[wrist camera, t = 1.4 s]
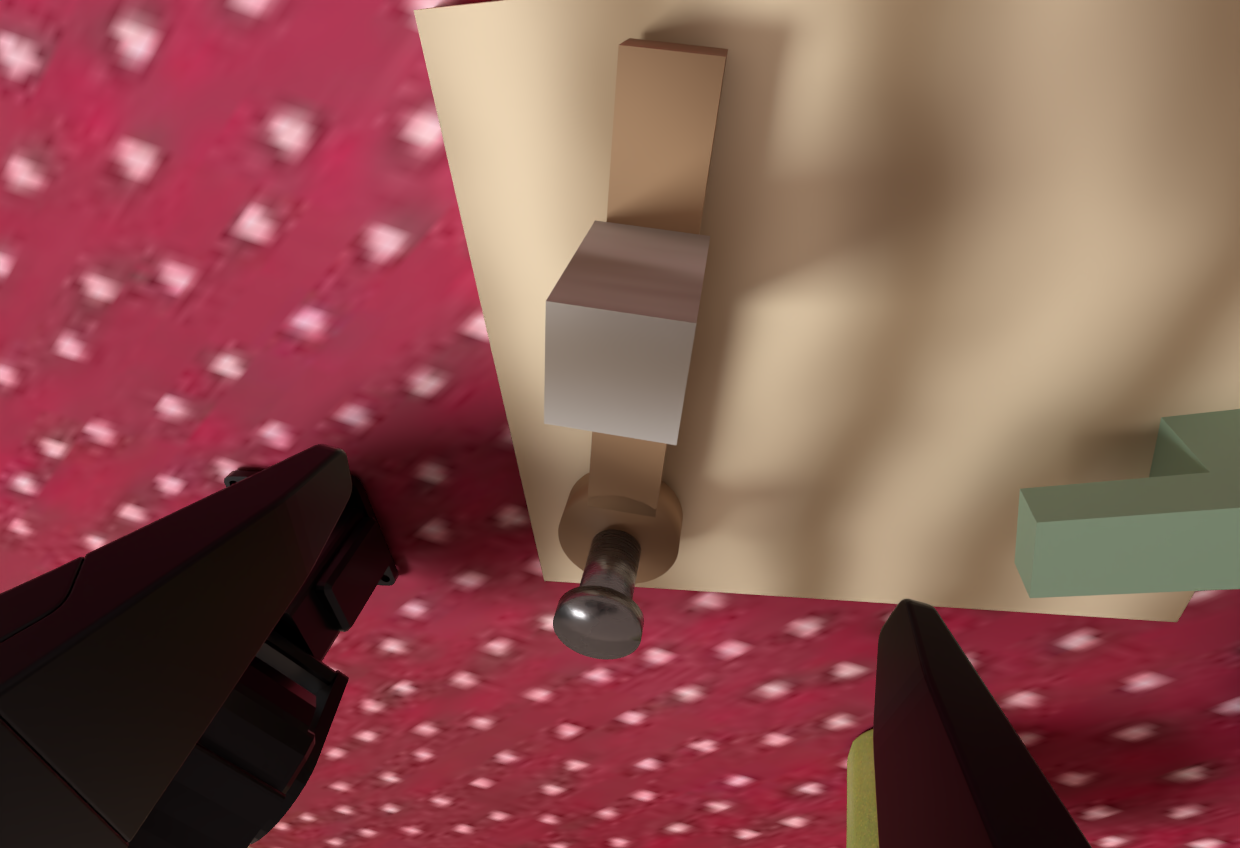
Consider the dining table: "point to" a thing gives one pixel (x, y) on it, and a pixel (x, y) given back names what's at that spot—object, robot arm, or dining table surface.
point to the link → (636, 302)
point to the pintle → (603, 600)
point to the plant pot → (861, 794)
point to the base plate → (877, 268)
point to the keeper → (1142, 520)
